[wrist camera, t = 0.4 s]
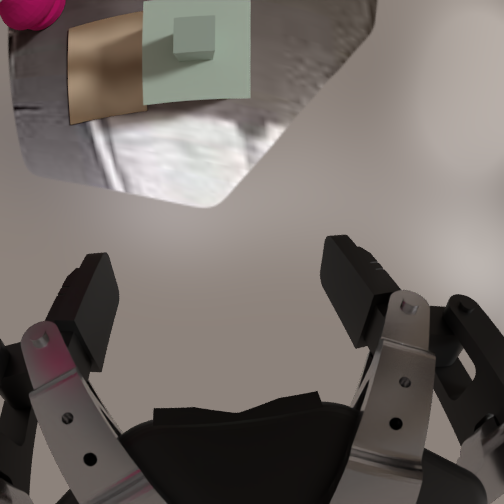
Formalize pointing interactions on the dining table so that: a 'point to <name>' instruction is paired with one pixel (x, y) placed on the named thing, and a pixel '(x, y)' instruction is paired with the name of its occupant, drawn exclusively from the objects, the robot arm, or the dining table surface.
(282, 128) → the dining table surface
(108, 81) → the cork mat
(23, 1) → the pepper mill
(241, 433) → the robot arm
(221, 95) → the lid
